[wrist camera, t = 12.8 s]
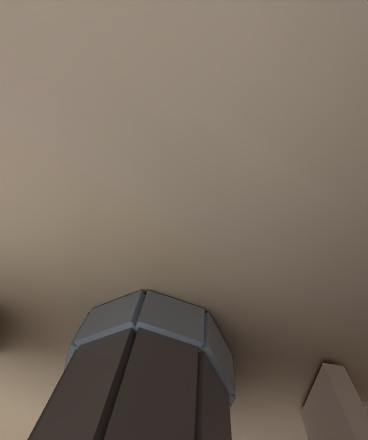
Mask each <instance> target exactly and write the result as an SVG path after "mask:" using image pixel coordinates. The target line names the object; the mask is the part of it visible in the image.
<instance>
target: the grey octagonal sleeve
mask: <svg viewBox="0 0 368 440" xmlns="http://www.w3.org/2000/svg"><path fill="white" fill-rule="evenodd" d="M235 393H236V392H235V380H234V369H233V357H232V353H231V351H230V350H229V348H228V346H227V344H226V342H225V340H224V339H223V337H222V335H221V333H220V331H219V330H218V328H217V326H216V324H215V322H214V320H213V319H212V317H211V315H210V313H209V312H208V313H205V309H204V308H201V307H198V306H195V305H192V304H189V303H186V302H183V301H180V300H177V299H174V298H171V297H168V296H165V295H162V294H159V293H156V292H153V291H150V290H147V293H146V295H145V294H144V292H143V291H142V290H140V291H138V292H135V293H132V294H130V295H127V296H125V297H122V298H119V299H117V300H114V301H112V302H109V303H106V304H104V305H101V306H98V307H96V308H93V309H92V310H91V312H89V313H88V315H87V317H86V318H85V320H84V322H83V324H82V326H81V327H80V329H79V331H78V333H77V334H76V336H75V338H74V340H73V341H72V343H71V345H70V349H69V353H68V357H67V361H66V365H65V369H64V372H63V374H62V376H61V378H60V380H59V382H58V384H57V386H56V387H55V389H54V391H53V393H52V395H51V397H50V399H49V400H48V402H47V404H46V406H45V408H44V410H43V412H42V414H41V415H40V417H39V419H38V421H37V423H36V425H35V427H34V429H33V430H32V432H31V434H30V436H29V438H28V440H232V437H231V421H230V406H231V405H232V403H233V401H234V400H235V398H236V396H235Z"/></svg>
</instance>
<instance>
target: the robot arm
mask: <svg viewBox="0 0 368 440" xmlns="http://www.w3.org/2000/svg"><path fill="white" fill-rule="evenodd" d="M301 416H302V419H303V423H304V426H305V430H306V433H307V436H308V440H368V413H367V411H366V409H365V407H364V405H363V403H362V401H361V399H360V397H359V395H358V393H357V391H356V389H355V387H354V385H353V383H352V381H351V379H350V377H349V375H348V373H347V371H346V369H345V367H344V366H339V365H334V364H328V363H323V364H322V367H321V369H320V371H319V373H318V376H317V378H316V380H315V382H314V385H313V387H312V389H311V391H310V394H309V396H308V398H307V400H306V403H305V405H304V407H303V409H302V411H301Z"/></svg>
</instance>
